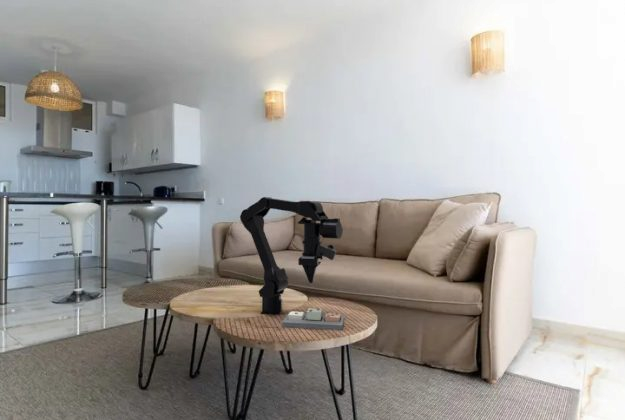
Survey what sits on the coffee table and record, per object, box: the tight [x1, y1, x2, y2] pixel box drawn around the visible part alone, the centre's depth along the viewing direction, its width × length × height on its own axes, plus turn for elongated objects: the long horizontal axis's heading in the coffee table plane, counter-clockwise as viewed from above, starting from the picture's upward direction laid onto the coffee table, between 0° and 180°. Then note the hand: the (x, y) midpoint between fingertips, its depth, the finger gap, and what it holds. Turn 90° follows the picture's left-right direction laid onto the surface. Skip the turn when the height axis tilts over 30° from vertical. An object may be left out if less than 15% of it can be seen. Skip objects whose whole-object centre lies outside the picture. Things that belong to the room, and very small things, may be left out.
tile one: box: [287, 311, 305, 320], centre depth 131 cm, size 4×4×3 cm
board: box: [281, 311, 345, 331], centre depth 130 cm, size 19×12×2 cm, turn 82°
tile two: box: [306, 307, 323, 320], centre depth 130 cm, size 4×4×3 cm
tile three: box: [325, 312, 341, 322], centre depth 129 cm, size 4×4×3 cm
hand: (311, 282), depth 136 cm, fingers closed
